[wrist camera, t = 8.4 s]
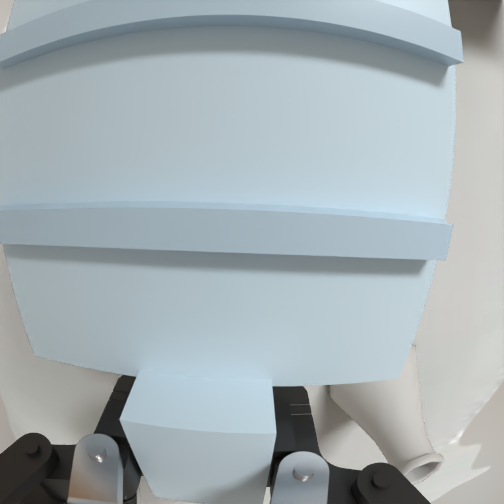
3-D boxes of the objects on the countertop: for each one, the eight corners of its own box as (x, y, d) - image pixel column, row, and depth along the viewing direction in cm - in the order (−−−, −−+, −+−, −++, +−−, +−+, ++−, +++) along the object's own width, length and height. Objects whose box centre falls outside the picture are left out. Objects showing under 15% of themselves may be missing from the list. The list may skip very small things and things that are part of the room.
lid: (55, -47, 4) (6, -82, 1) (413, -51, 4) (461, -93, 2) (83, 417, 10) (58, 470, 7) (353, 434, 10) (371, 493, 7)
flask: (315, 401, 22) (338, 510, 13) (345, 328, 20) (397, 447, 10) (391, 400, 23) (430, 491, 13) (427, 333, 20) (494, 425, 11)
